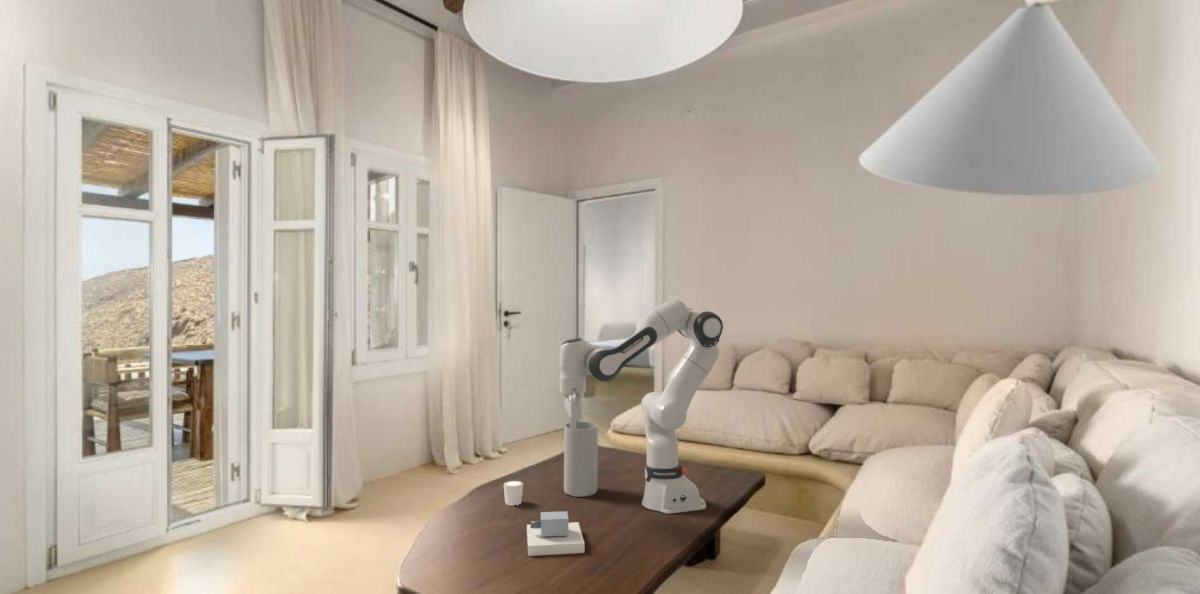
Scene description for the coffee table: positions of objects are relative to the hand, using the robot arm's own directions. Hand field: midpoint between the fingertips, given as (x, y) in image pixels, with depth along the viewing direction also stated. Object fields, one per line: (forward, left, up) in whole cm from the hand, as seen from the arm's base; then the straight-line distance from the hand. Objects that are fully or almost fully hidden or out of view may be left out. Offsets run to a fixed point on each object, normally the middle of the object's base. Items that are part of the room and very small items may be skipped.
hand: (573, 428), depth 203 cm
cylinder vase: (-5, -23, -29) cm, 37 cm away
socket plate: (+8, +22, -29) cm, 38 cm away
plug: (+9, +22, -29) cm, 38 cm away
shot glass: (+20, -14, -29) cm, 38 cm away
